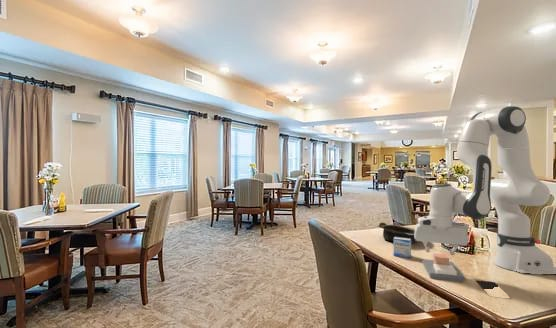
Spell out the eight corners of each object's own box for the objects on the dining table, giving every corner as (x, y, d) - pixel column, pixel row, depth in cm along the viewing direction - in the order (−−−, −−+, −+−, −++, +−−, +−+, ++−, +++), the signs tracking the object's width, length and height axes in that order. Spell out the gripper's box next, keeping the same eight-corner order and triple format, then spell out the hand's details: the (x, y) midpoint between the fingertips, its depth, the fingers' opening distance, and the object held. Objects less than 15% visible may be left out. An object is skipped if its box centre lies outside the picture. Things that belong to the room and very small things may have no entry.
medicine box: (393, 255, 142) (393, 238, 142) (394, 253, 146) (394, 236, 146) (410, 258, 138) (410, 240, 138) (411, 255, 142) (411, 238, 142)
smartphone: (489, 296, 99) (474, 280, 113) (489, 298, 99) (474, 281, 113) (513, 298, 97) (495, 281, 111) (513, 300, 97) (495, 283, 111)
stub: (446, 263, 125) (446, 254, 125) (449, 267, 120) (449, 258, 120) (433, 262, 126) (433, 253, 126) (435, 266, 122) (435, 257, 122)
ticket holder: (452, 266, 128) (452, 258, 128) (464, 281, 112) (464, 272, 112) (422, 263, 131) (423, 255, 131) (430, 277, 115) (430, 269, 115)
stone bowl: (370, 239, 169) (371, 224, 170) (390, 235, 186) (390, 221, 186) (413, 248, 151) (413, 231, 151) (430, 243, 168) (431, 227, 168)
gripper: (466, 221, 123) (465, 253, 123) (413, 217, 129) (413, 248, 129) (470, 225, 117) (469, 258, 117) (416, 220, 123) (415, 252, 123)
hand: (439, 253), depth 123 cm, fingers open, 8 cm apart
